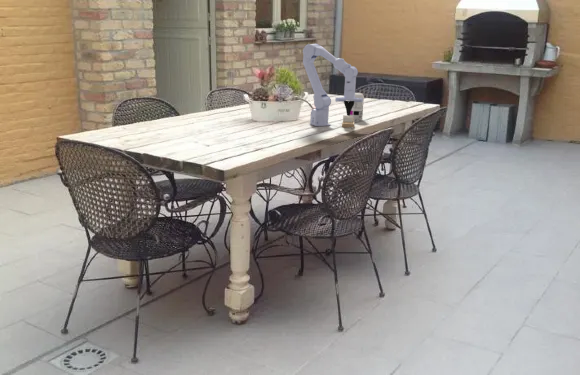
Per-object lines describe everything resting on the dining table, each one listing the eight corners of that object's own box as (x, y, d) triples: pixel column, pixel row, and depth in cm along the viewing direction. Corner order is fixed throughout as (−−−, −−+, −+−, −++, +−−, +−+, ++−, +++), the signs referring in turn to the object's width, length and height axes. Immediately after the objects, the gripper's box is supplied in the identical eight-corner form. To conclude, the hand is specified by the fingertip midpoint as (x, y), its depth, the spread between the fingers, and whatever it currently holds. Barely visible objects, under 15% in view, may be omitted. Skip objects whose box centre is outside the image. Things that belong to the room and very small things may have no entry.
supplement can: (346, 119, 362) (347, 93, 358) (351, 117, 369) (353, 92, 365) (359, 121, 359) (360, 95, 355) (364, 119, 366) (366, 93, 362)
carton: (342, 124, 345) (343, 121, 345) (354, 125, 344) (354, 122, 344) (341, 127, 339) (342, 123, 338) (353, 127, 338) (353, 124, 337)
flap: (343, 118, 339) (343, 112, 334) (353, 118, 339) (353, 113, 333) (342, 123, 338) (342, 117, 333) (353, 123, 338) (352, 118, 332)
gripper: (362, 89, 335) (360, 114, 339) (335, 88, 334) (334, 113, 338) (364, 91, 328) (362, 116, 332) (336, 90, 328) (335, 115, 331)
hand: (348, 115), depth 335 cm, fingers closed
